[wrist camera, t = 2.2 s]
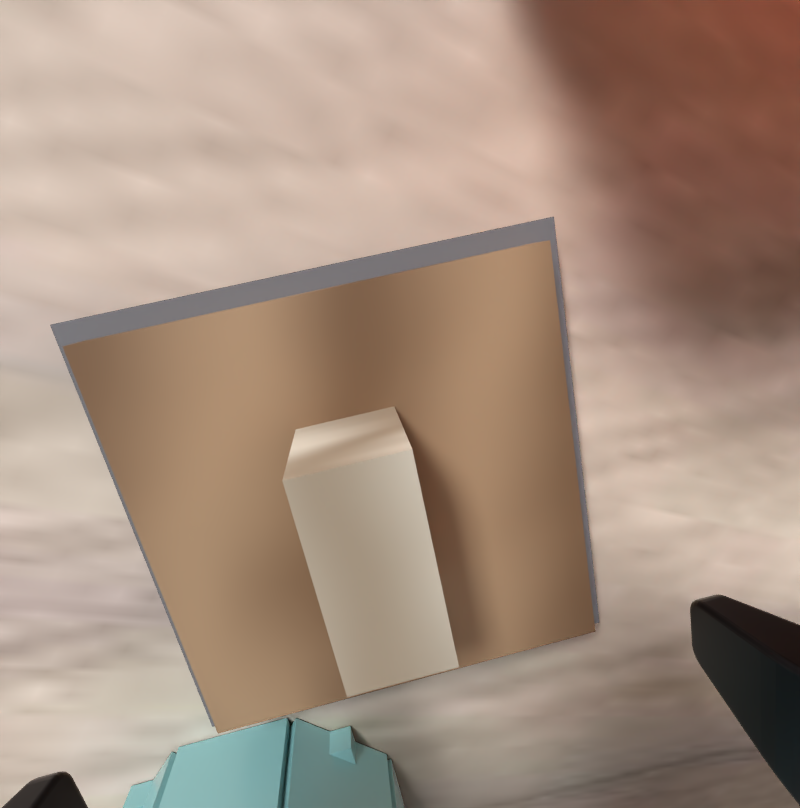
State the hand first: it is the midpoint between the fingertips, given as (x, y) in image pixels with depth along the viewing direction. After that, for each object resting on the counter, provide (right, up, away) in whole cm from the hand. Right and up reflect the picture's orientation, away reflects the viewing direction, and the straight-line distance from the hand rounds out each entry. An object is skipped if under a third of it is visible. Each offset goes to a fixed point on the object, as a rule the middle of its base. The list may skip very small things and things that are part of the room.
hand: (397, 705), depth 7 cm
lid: (-1, +2, +6) cm, 7 cm away
